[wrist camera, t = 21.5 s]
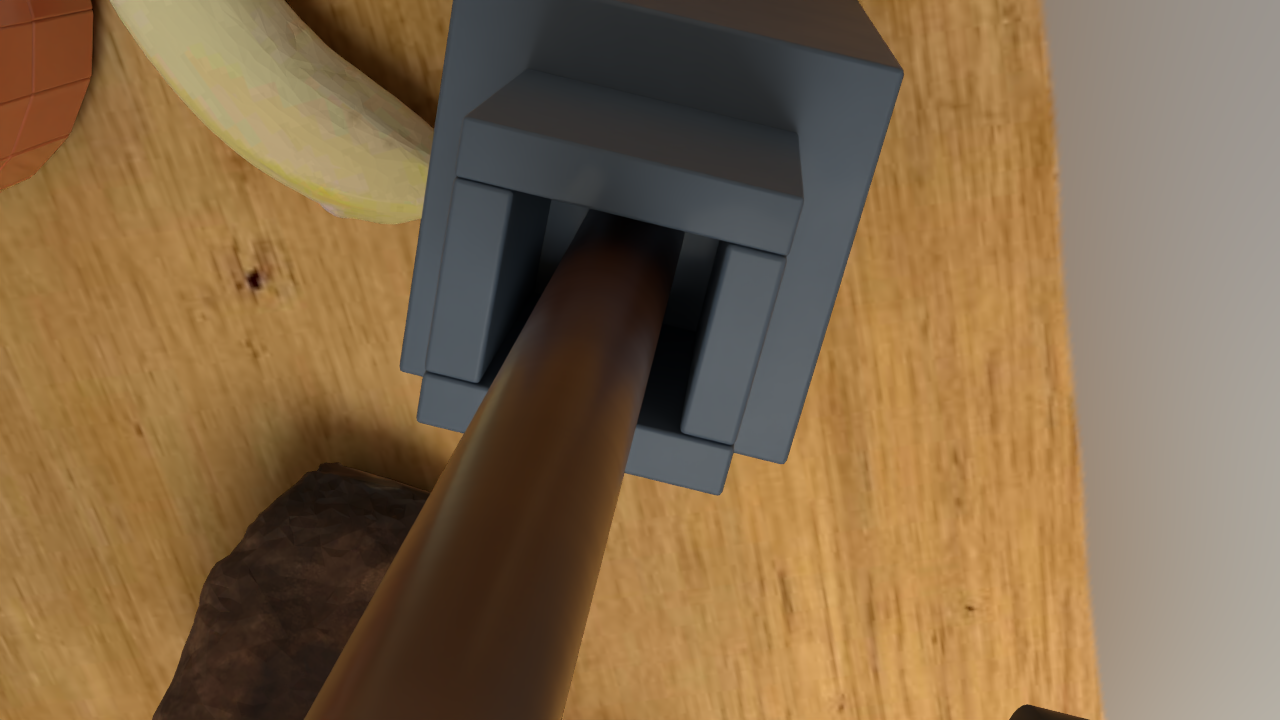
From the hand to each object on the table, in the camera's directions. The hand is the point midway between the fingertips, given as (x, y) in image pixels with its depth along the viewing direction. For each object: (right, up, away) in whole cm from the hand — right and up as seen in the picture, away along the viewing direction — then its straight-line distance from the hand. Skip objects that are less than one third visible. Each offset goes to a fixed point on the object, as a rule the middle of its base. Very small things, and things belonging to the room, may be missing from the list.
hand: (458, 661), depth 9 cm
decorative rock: (-8, -5, +29) cm, 30 cm away
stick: (+1, +4, +10) cm, 11 cm away
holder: (+2, +9, +21) cm, 23 cm away
